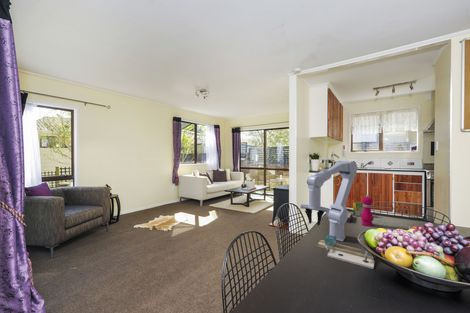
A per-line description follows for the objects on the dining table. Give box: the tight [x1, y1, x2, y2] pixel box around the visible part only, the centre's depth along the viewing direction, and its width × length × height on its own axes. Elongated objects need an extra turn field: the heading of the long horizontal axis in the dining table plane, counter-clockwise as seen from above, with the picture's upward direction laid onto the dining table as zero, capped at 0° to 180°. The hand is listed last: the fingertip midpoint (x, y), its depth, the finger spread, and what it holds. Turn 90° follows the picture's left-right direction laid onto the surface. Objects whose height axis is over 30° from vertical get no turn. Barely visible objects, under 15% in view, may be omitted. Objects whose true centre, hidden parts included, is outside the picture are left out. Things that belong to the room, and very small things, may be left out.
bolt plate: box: [326, 249, 375, 270], centre depth 97 cm, size 7×18×1 cm, turn 54°
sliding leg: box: [324, 234, 337, 252], centre depth 107 cm, size 10×4×4 cm, turn 144°
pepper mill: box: [360, 194, 374, 227], centre depth 142 cm, size 7×7×20 cm
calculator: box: [345, 212, 354, 224], centre depth 155 cm, size 11×4×15 cm
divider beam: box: [317, 239, 375, 261], centre depth 103 cm, size 11×24×5 cm, turn 54°
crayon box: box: [352, 200, 364, 217], centre depth 163 cm, size 7×3×12 cm, turn 99°
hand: (314, 223), depth 114 cm, fingers open, 4 cm apart
